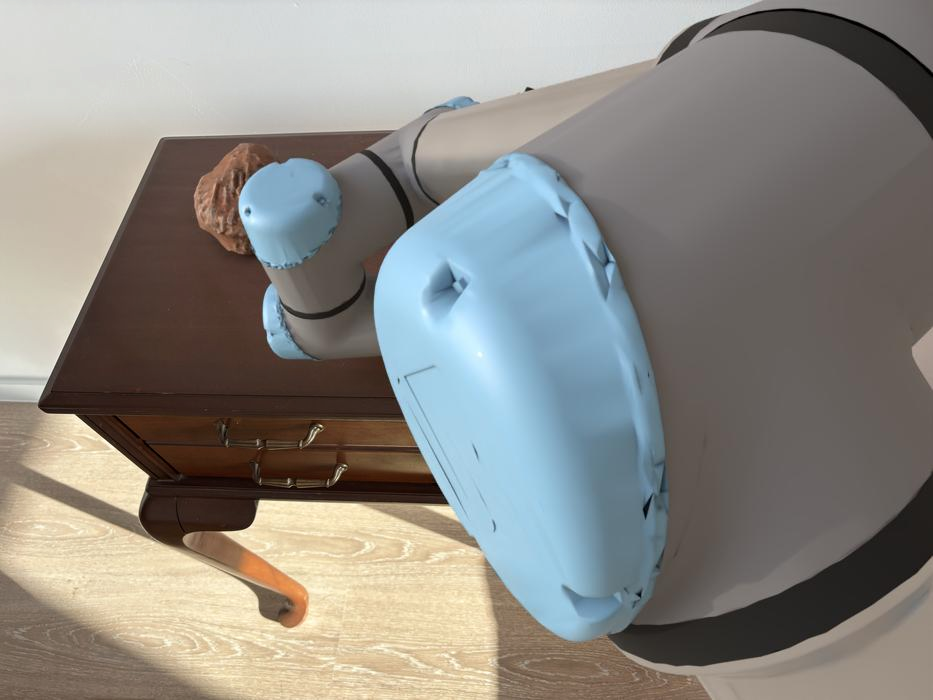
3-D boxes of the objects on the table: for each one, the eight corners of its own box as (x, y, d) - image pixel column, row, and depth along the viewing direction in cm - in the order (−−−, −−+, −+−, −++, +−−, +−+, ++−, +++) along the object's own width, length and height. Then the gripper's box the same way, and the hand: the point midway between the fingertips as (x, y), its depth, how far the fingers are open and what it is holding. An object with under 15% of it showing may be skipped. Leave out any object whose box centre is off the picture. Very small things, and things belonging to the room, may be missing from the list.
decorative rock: (258, 181, 89) (229, 116, 81) (330, 204, 85) (307, 138, 77) (193, 252, 83) (154, 190, 75) (267, 280, 79) (234, 218, 71)
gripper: (449, 237, 72) (657, 224, 70) (443, 456, 58) (702, 446, 56) (440, 183, 66) (667, 167, 64) (430, 413, 52) (721, 400, 50)
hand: (684, 297), depth 60 cm, fingers open, 13 cm apart
